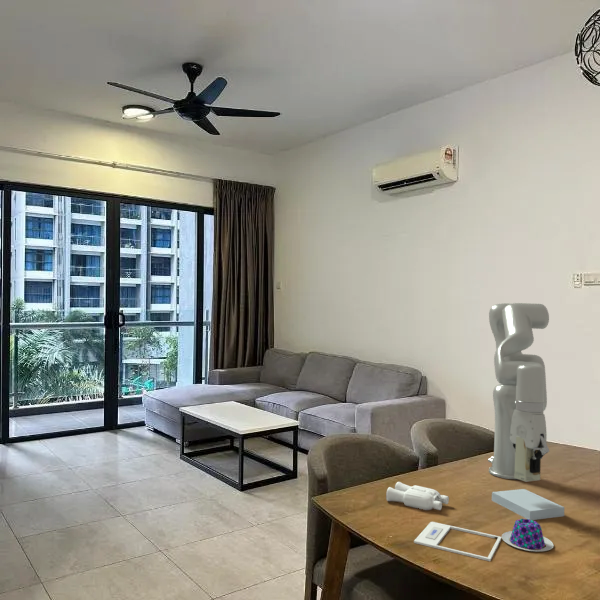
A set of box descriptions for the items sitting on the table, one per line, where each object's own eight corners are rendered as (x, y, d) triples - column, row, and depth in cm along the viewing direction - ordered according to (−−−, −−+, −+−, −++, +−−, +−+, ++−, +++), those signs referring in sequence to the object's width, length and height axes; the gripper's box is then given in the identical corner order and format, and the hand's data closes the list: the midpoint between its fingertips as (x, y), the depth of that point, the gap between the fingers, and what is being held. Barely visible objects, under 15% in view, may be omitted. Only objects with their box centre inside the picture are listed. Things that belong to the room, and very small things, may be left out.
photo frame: (431, 520, 151) (501, 536, 142) (431, 524, 151) (501, 540, 142) (413, 540, 138) (490, 558, 129) (413, 544, 138) (489, 563, 129)
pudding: (511, 529, 149) (511, 509, 149) (559, 543, 141) (560, 522, 141) (494, 544, 140) (494, 522, 140) (544, 559, 132) (545, 536, 132)
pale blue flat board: (491, 502, 170) (491, 492, 170) (523, 498, 174) (524, 488, 174) (529, 522, 155) (530, 511, 155) (564, 517, 159) (564, 507, 159)
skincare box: (525, 482, 161) (526, 439, 161) (513, 478, 165) (514, 436, 165) (541, 480, 164) (542, 437, 164) (529, 475, 168) (530, 434, 168)
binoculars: (399, 493, 175) (399, 478, 175) (450, 505, 166) (450, 489, 166) (384, 503, 166) (385, 487, 166) (437, 516, 157) (438, 499, 157)
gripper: (499, 402, 171) (497, 463, 171) (541, 413, 156) (540, 479, 155) (518, 401, 174) (517, 461, 174) (562, 412, 158) (560, 477, 158)
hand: (527, 469), depth 165 cm, fingers closed on skincare box, 4 cm apart
